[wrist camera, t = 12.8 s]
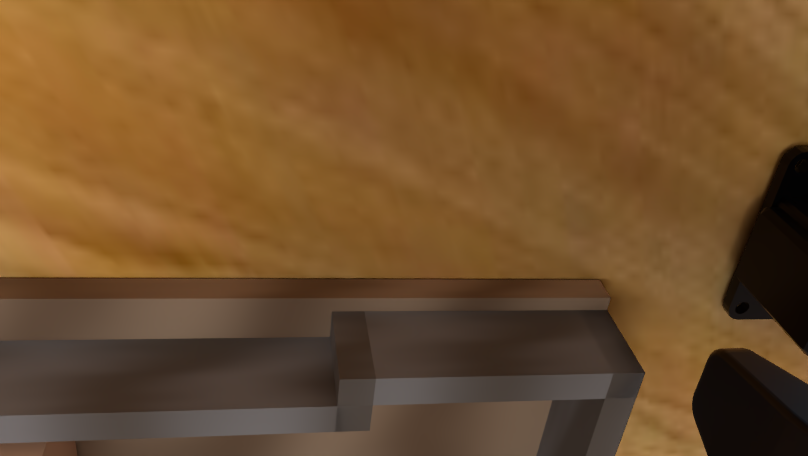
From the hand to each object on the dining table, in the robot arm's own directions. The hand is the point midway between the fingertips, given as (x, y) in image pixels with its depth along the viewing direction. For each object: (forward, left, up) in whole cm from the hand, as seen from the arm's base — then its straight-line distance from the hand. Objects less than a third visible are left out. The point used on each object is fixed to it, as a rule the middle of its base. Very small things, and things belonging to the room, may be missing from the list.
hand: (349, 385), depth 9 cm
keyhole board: (+1, +13, -13) cm, 18 cm away
